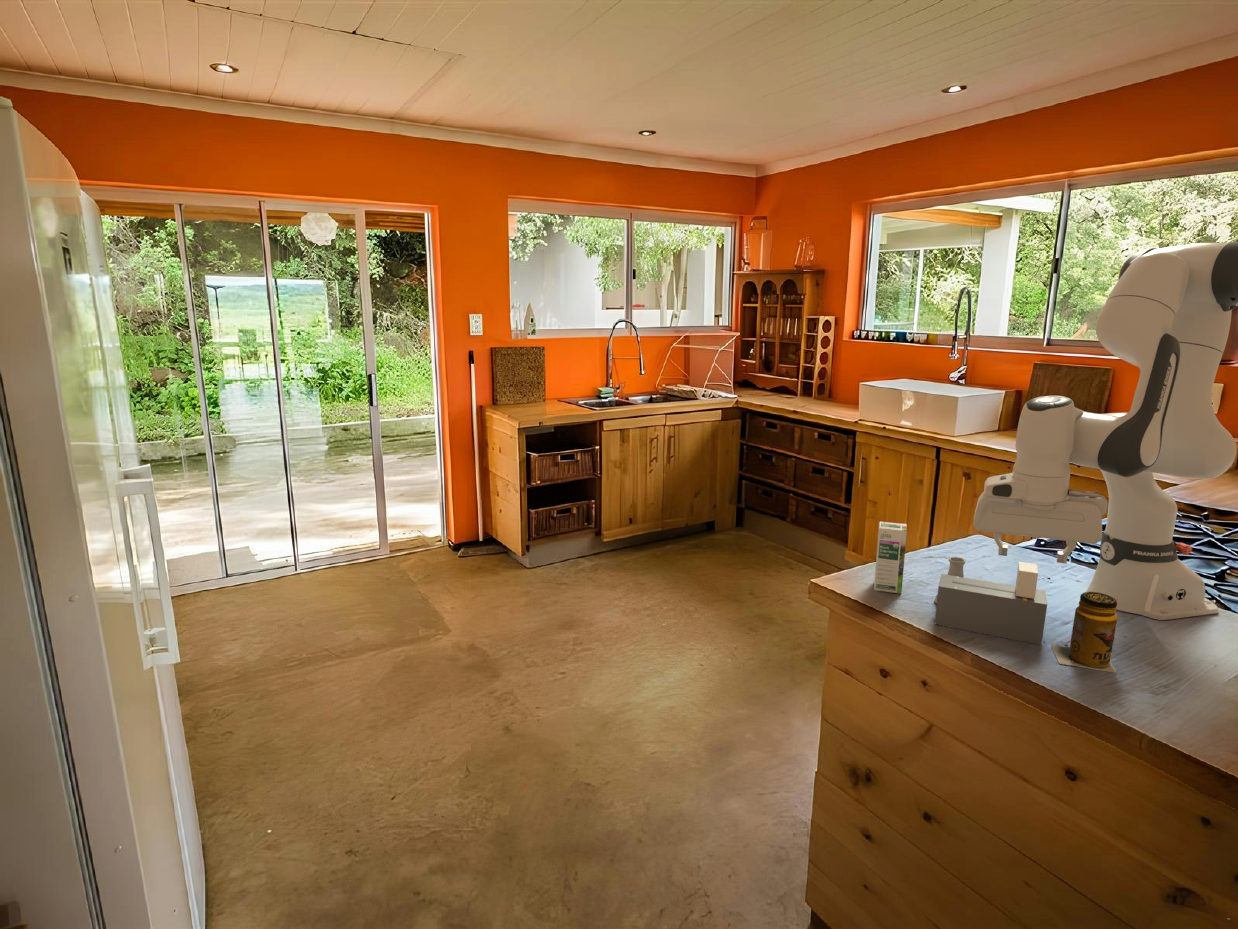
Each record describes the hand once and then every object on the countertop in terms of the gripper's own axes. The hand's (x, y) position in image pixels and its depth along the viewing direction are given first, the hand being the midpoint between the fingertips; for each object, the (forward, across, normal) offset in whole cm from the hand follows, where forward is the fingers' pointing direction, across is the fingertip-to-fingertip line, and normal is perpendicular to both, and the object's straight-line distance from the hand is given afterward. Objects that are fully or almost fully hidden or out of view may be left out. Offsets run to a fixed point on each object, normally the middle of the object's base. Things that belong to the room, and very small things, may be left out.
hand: (1031, 558), depth 128 cm
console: (+15, +6, +1) cm, 16 cm away
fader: (+7, +1, +1) cm, 7 cm away
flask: (+15, +13, -7) cm, 21 cm away
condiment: (+15, -9, +7) cm, 19 cm away
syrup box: (+15, +26, -10) cm, 32 cm away
